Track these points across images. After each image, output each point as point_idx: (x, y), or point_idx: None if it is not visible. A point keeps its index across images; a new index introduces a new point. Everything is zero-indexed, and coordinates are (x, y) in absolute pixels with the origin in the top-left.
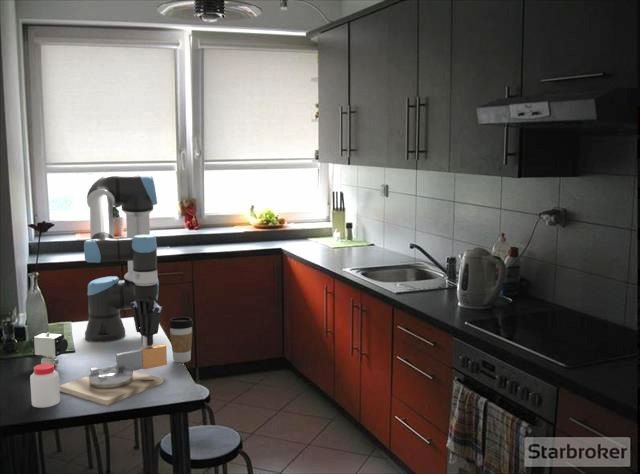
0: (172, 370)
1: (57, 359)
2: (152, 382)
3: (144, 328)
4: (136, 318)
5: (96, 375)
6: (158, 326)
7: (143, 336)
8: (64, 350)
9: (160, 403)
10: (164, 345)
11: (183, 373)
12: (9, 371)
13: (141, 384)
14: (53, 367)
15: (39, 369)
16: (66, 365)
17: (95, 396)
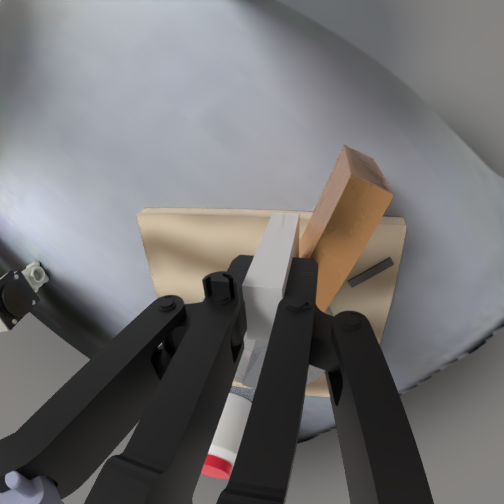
0: (328, 76)
1: (32, 274)
2: (397, 274)
3: (230, 365)
4: (129, 430)
5: (237, 369)
6: (390, 377)
7: (259, 337)
8: (26, 289)
9: (477, 335)
10: (373, 193)
11: (401, 84)
12: (38, 316)
13: (374, 304)
14: (225, 469)
15: (220, 478)
16: (43, 248)
17: (316, 394)
